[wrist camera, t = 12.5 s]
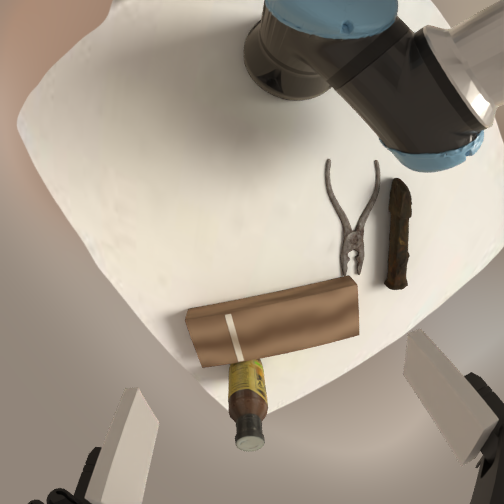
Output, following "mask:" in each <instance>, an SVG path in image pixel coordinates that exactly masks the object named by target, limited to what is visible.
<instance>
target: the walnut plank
mask: <svg viewBox="0 0 504 504" xmlns="http://www.w3.org/2000/svg"><path fill="white" fill-rule="evenodd" d="M185 322H186V325H187V328H188V331H189V334H190V336H191V339H192V342H193V345H194V347H195V350H196V353H197V355H198V358H199V360H200V363H201V366H202V368H205V367H212V366H219V365H225V364H231V363H237V362H243V361H249V360H254V359H260V358H265V357H270V356H275V355H280V354H285V353H289V352H294V351H298V350H303V349H307V348H311V347H315V346H319V345H324V344H327V343H331V342H335V341H339V340H343V339H347V338H350V337H354V336H357V335H359V307H358V286H357V284H356V282H355V281H354V280H353V279H352V278H351V277H350V276H349V275H348V276H344V277H340V278H336V279H331V280H327V281H323V282H318V283H314V284H310V285H305V286H301V287H296V288H291V289H287V290H282V291H277V292H273V293H268V294H263V295H258V296H253V297H248V298H243V299H238V300H233V301H228V302H223V303H218V304H212V305H207V306H201V307H196V308H190V309H188V312H187V315H186V319H185Z"/></svg>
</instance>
